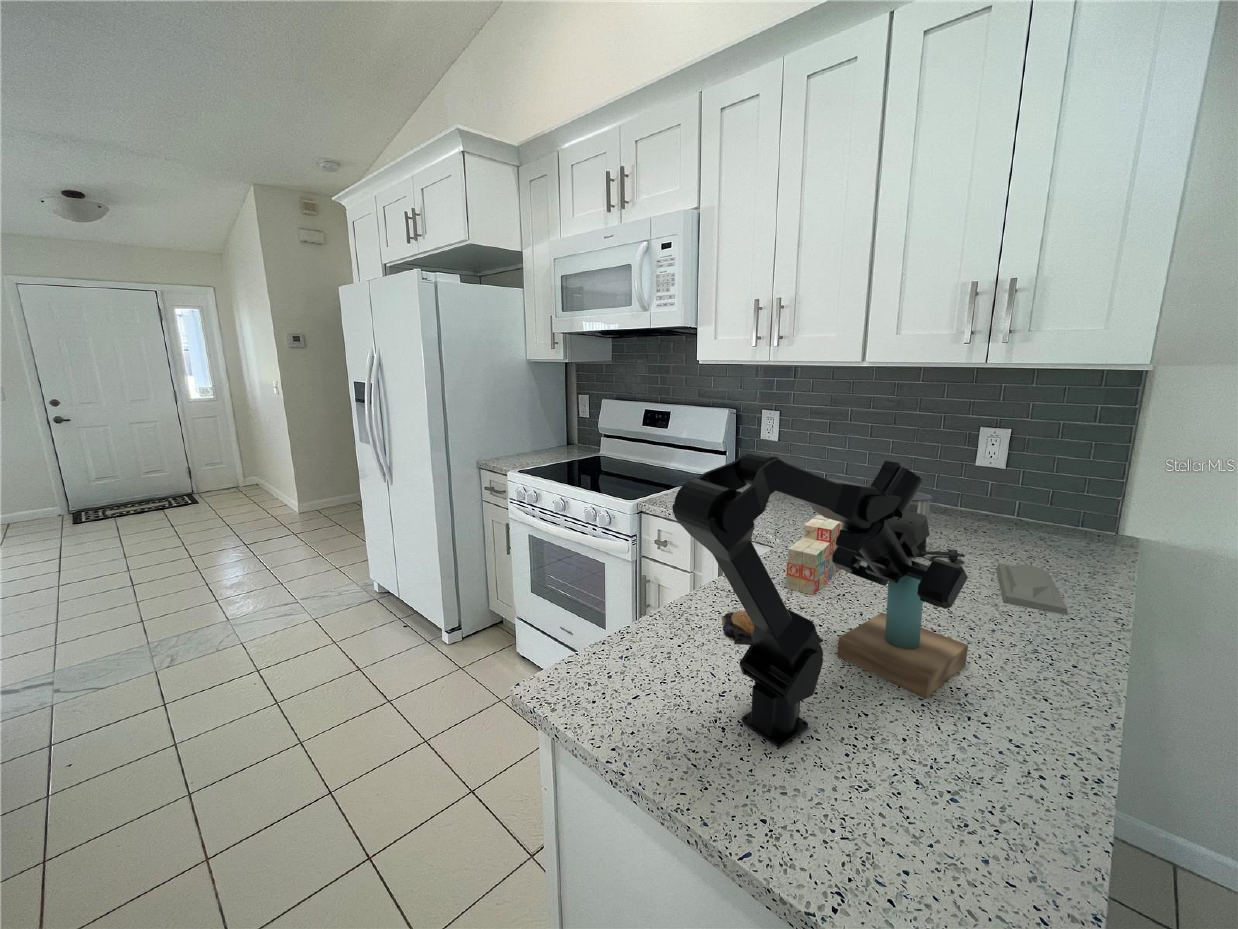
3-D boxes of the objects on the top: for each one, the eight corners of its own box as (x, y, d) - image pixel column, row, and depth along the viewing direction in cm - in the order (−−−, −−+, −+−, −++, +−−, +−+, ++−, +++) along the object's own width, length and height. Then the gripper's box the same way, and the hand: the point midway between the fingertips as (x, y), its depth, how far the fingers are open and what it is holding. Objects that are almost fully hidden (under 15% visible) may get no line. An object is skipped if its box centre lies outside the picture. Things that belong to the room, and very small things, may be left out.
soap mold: (1001, 605, 105) (1004, 589, 105) (994, 571, 122) (996, 557, 121) (1067, 618, 100) (1070, 601, 99) (1050, 580, 117) (1053, 565, 116)
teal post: (920, 651, 82) (926, 573, 80) (885, 645, 84) (889, 568, 82) (918, 636, 86) (923, 561, 84) (884, 631, 88) (889, 558, 86)
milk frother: (881, 543, 140) (886, 489, 137) (947, 547, 136) (953, 492, 133) (896, 563, 126) (901, 504, 123) (969, 568, 123) (977, 507, 120)
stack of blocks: (814, 596, 110) (817, 540, 107) (785, 588, 114) (787, 534, 111) (844, 565, 126) (848, 516, 123) (818, 559, 130) (821, 511, 127)
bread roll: (718, 619, 102) (719, 601, 101) (762, 619, 102) (762, 601, 101) (727, 648, 91) (728, 629, 91) (776, 648, 91) (777, 629, 90)
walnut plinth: (926, 698, 76) (928, 677, 76) (837, 656, 87) (838, 637, 87) (965, 664, 84) (968, 645, 84) (880, 630, 95) (881, 612, 95)
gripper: (969, 513, 70) (999, 572, 78) (847, 485, 86) (882, 537, 94) (930, 580, 68) (965, 634, 76) (812, 539, 84) (851, 588, 92)
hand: (912, 593), depth 84 cm, fingers open, 9 cm apart
